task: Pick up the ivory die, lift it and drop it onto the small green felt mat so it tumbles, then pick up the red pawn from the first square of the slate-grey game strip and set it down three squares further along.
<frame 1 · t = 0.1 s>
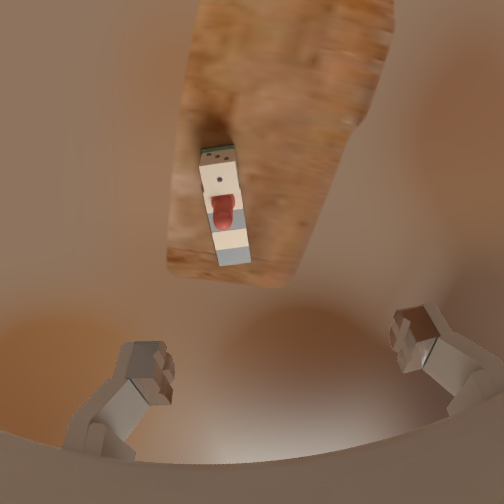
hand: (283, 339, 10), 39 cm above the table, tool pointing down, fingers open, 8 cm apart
board: (228, 226, 54), on the table
mat: (220, 164, 46), on the table
die: (220, 165, 46), resting on mat
pawn: (223, 200, 50), point 1 cm above the table, touching board
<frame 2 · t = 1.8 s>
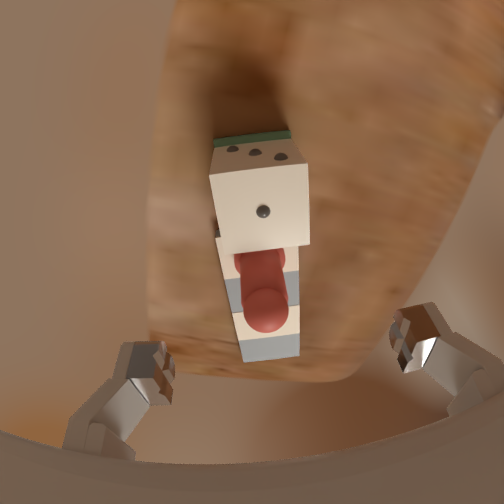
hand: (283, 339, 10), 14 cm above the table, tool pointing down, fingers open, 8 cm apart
board: (264, 301, 28), on the table
mat: (256, 175, 21), on the table
die: (256, 177, 21), resting on mat
pawn: (259, 255, 24), point 1 cm above the table, touching board
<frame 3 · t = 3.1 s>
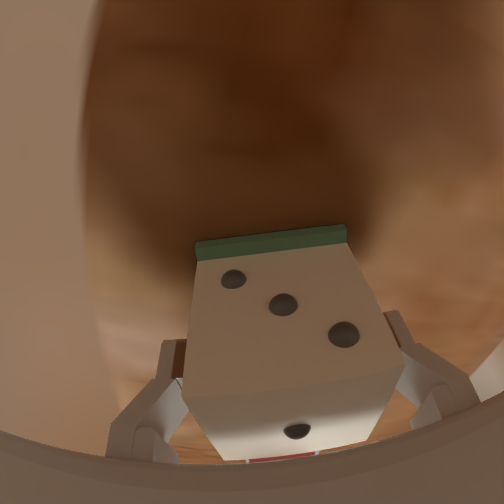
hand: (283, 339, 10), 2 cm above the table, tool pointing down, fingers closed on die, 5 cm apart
mat: (276, 299, 12), on the table
die: (277, 306, 11), resting on mat, touching gripper
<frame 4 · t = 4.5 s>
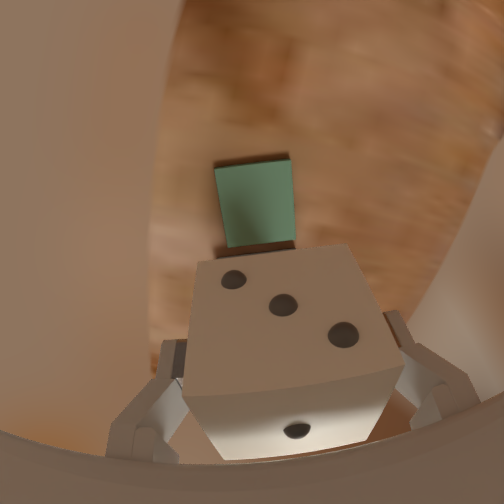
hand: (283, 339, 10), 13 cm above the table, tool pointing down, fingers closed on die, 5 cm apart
mat: (257, 203, 21), on the table
die: (277, 306, 12), point 11 cm above the table, touching gripper
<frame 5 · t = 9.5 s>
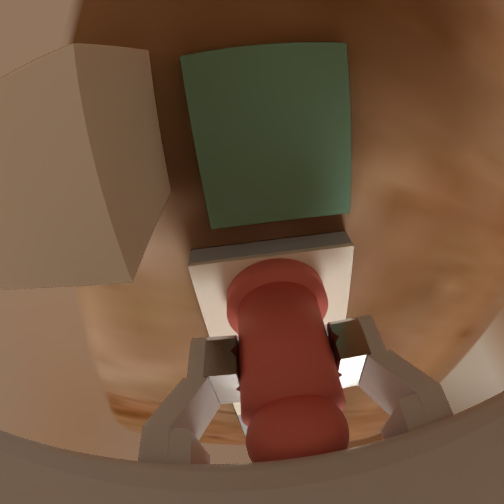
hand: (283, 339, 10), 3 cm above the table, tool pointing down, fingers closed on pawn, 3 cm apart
board: (280, 363, 16), on the table
mat: (273, 134, 9), on the table
die: (136, 139, 7), point 2 cm above the table, tilted 90°
pawn: (275, 298, 12), point 1 cm above the table, touching board, gripper
when the fingers open (5 cm above the table, at t = 14.2 s): pawn drops 1 cm, resting on board.
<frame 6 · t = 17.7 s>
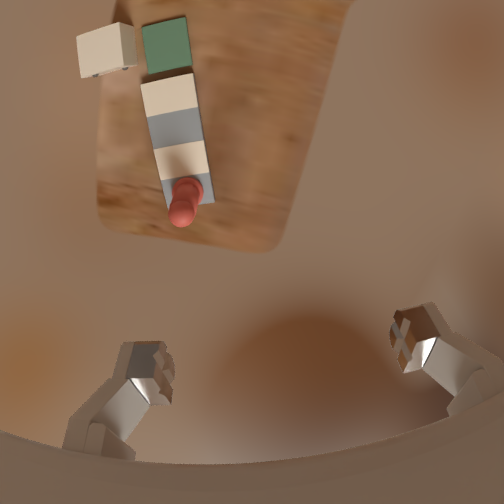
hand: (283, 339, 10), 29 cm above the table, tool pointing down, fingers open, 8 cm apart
board: (179, 142, 34), on the table
mat: (167, 45, 27), on the table
die: (129, 44, 25), point 2 cm above the table, tilted 90°
pawn: (188, 191, 37), point 1 cm above the table, touching board
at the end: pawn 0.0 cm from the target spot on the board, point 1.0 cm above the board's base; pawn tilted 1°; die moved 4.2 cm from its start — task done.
